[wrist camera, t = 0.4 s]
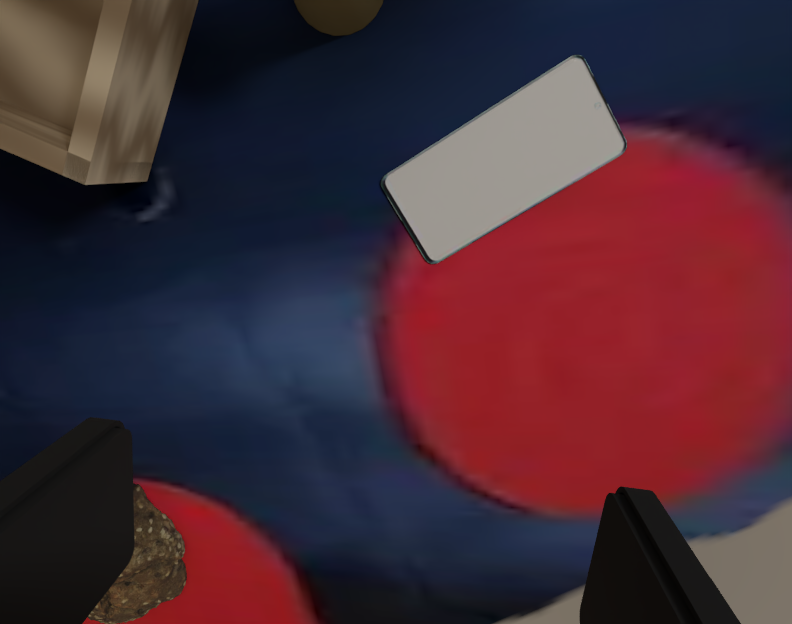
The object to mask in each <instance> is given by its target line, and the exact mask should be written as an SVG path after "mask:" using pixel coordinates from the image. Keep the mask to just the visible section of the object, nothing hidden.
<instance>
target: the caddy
mask: <svg viewBox="0 0 792 624" xmlns="http://www.w3.org/2000/svg"><path fill="white" fill-rule="evenodd" d="M198 1H199V0H0V149H3V150H5V151H7V152H10V153H12V154H14V155H16V156H19V157H21V158H23V159H26V160H28V161H30V162H33V163H35V164H37V165H40V166H42V167H44V168H47V169H49V170H51V171H54V172H56V173H58V174H61V175H63V176H65V177H68V178H70V179H72V180H75V181H77V182H79V183H82V184H84V185H93V184H110V183H128V182H146V181H147V180H148V176H149V173H150V169H151V166H152V162H153V159H154V155H155V152H156V148H157V145H158V141H159V138H160V134H161V131H162V127H163V124H164V120H165V117H166V113H167V110H168V106H169V103H170V99H171V96H172V92H173V89H174V85H175V82H176V78H177V75H178V71H179V68H180V64H181V61H182V57H183V54H184V50H185V46H186V43H187V39H188V36H189V32H190V29H191V25H192V22H193V18H194V15H195V11H196V8H197V4H198Z"/></svg>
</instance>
